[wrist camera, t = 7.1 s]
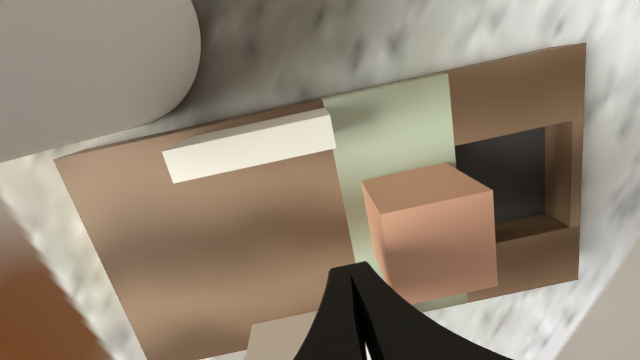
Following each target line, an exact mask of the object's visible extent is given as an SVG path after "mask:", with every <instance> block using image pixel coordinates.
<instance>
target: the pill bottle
mask: <svg viewBox="0 0 640 360" xmlns="http://www.w3.org/2000/svg"><path fill="white" fill-rule="evenodd" d="M200 55H201V36H200V28H199V23H198V19H197V15H196V12H195V9H194V6H193V4H192V1H191V0H0V163H1V162H4V161H8V160H12V159H16V158H20V157H24V156H27V155H31V154H35V153H39V152H43V151H47V150H50V149H54V148H58V147H62V146H66V145H70V144H74V143H77V142H81V141H85V140H89V139H93V138H97V137H100V136H104V135H108V134H112V133H116V132H120V131H123V130H127V129H131V128H135V127H139V126H142V125H145V124H148V123H150V122H153V121H155V120H157V119H159V118H161V117H162V116H164V115H166V114H167V113H169V112H170V111H171V110H173V109H174V108H175V107H176V106H177V105H178V104H179V103H180V102H181V101H182V100H183V98H184V97H185V96H186V94H187V93H188V91H189V90H190V88H191V86H192V84H193V82H194V80H195V77H196V74H197V71H198V67H199V62H200Z"/></svg>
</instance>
